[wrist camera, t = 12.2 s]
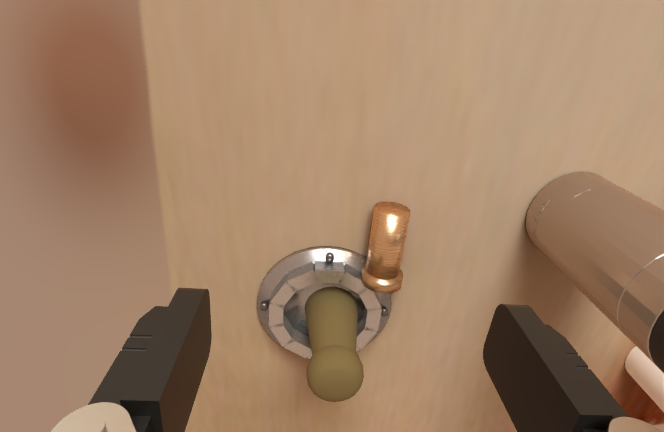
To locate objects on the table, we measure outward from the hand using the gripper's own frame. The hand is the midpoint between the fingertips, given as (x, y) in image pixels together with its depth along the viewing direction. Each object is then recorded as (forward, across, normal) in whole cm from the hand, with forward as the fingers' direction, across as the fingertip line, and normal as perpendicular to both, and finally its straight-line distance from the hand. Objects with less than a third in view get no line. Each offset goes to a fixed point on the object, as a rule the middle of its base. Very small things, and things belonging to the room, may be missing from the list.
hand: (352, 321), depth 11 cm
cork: (+28, -2, +21) cm, 35 cm away
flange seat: (+28, -2, +21) cm, 35 cm away
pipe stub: (+28, -7, +12) cm, 31 cm away
